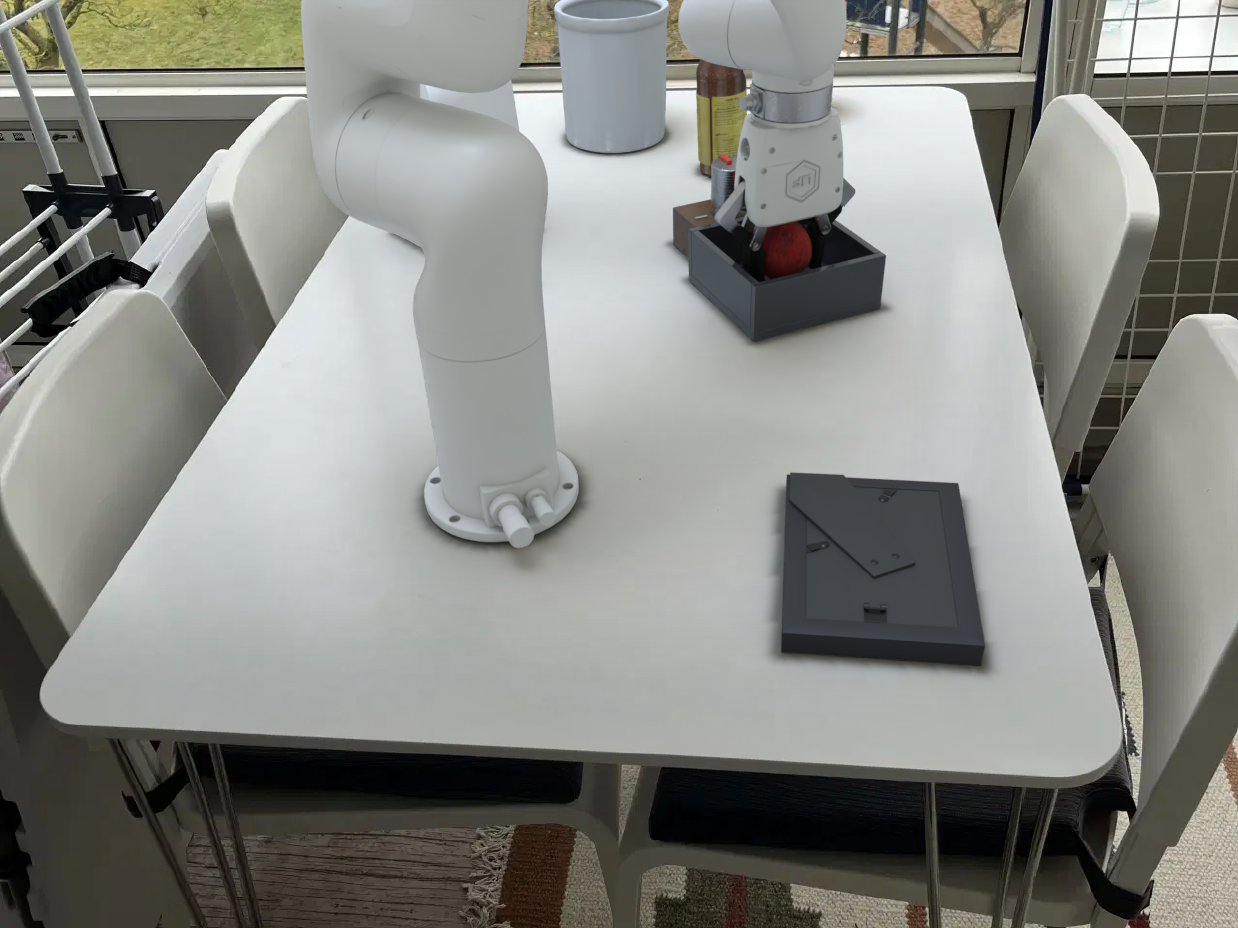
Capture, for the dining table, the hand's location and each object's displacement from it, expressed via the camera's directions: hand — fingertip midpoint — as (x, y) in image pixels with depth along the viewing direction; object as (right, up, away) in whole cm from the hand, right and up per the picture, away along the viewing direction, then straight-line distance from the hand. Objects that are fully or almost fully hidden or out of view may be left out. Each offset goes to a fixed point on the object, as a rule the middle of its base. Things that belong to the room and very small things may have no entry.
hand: (782, 271), depth 117 cm
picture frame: (+2, -28, -33) cm, 43 cm away
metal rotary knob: (-5, +8, +8) cm, 12 cm away
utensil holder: (-17, +26, +40) cm, 51 cm away
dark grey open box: (0, -2, +2) cm, 3 cm away
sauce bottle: (-4, +18, +29) cm, 34 cm away
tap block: (-5, +4, +11) cm, 12 cm away
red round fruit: (0, -1, +1) cm, 2 cm away
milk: (-35, +7, +17) cm, 40 cm away
